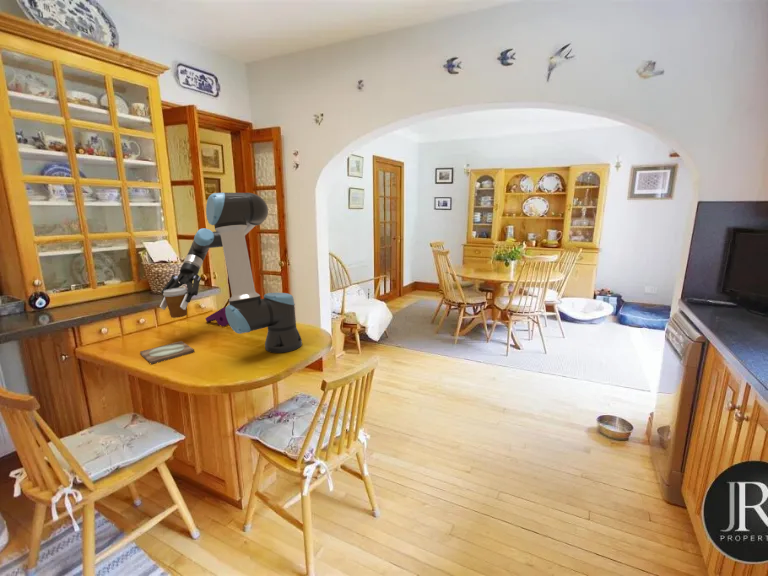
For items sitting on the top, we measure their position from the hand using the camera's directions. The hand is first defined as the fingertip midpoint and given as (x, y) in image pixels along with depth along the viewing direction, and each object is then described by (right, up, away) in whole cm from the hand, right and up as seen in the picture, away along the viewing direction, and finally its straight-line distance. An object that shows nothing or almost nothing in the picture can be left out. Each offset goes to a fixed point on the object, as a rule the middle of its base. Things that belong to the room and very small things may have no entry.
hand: (172, 308), depth 161 cm
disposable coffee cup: (+1, -4, +4) cm, 6 cm away
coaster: (+2, -18, -7) cm, 20 cm away
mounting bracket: (+7, -10, +34) cm, 36 cm away
